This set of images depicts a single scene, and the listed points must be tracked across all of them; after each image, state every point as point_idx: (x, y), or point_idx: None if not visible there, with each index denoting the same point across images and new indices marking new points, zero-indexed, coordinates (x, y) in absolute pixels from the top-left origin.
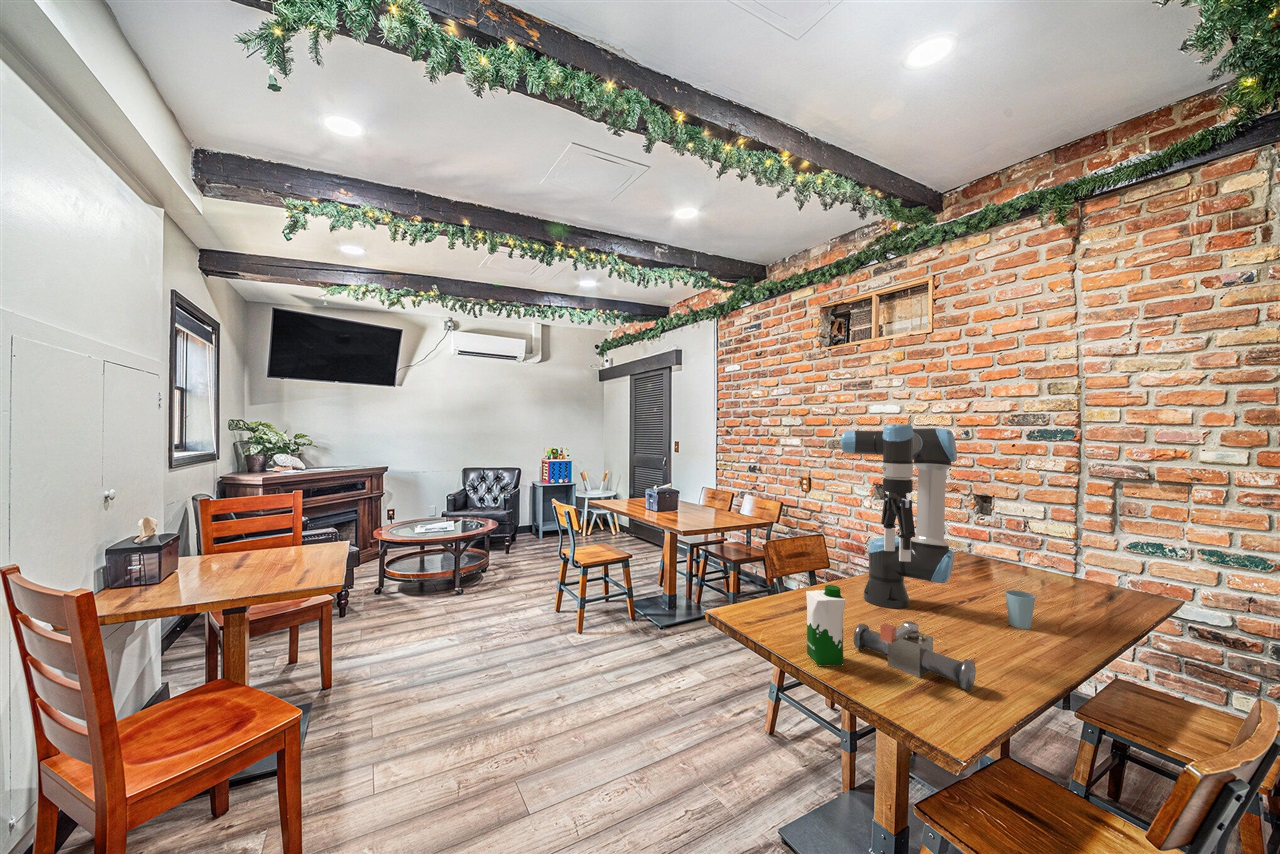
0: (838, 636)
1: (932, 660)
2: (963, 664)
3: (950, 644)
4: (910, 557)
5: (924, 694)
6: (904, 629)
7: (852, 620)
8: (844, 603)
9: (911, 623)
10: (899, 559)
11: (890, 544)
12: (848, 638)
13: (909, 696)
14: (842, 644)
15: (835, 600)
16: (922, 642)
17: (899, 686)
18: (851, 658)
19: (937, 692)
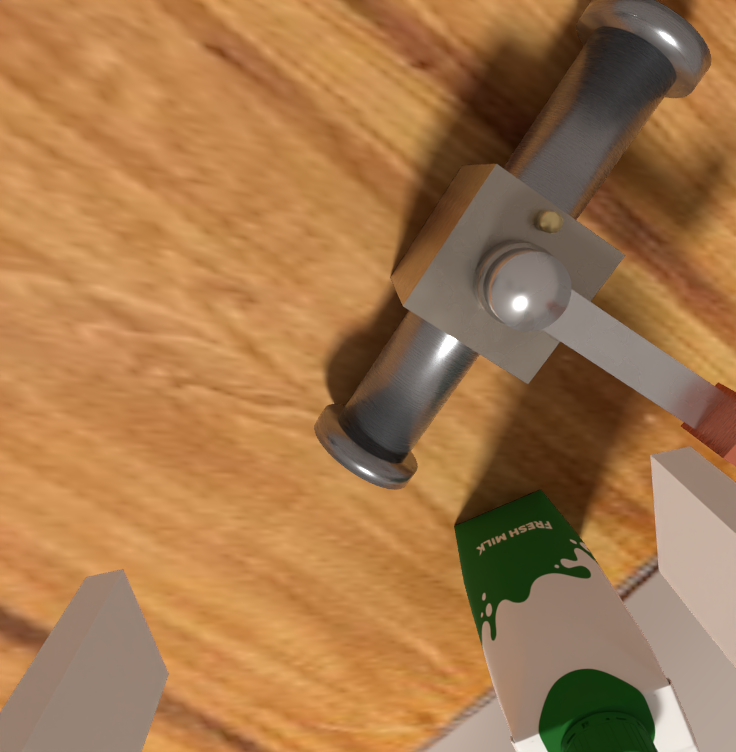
0: (606, 577)
1: (595, 191)
2: (695, 63)
3: (129, 5)
4: (724, 479)
5: (690, 242)
6: (620, 336)
7: (50, 442)
8: (661, 671)
9: (522, 286)
10: (674, 578)
11: (110, 701)
12: (279, 465)
13: (715, 297)
14: (561, 536)
15: (688, 725)
16: (590, 236)
17: (649, 320)
18: (469, 461)
19: (665, 191)
